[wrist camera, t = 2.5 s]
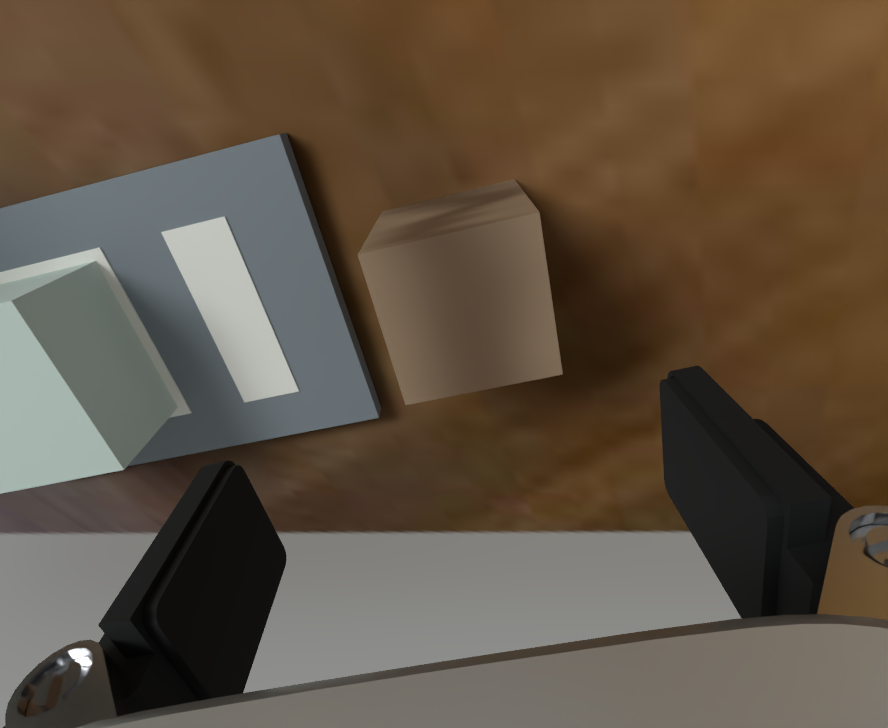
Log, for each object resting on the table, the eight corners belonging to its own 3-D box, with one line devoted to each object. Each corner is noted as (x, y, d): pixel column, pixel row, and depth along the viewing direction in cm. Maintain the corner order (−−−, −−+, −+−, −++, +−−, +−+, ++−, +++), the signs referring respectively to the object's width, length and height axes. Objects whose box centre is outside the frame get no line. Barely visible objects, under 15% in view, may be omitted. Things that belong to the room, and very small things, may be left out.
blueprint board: (286, 132, 21) (278, 134, 20) (381, 407, 28) (378, 418, 27) (-118, 239, 24) (-142, 246, 23) (55, 471, 30) (42, 483, 29)
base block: (95, 260, 23) (11, 300, 19) (178, 407, 27) (124, 469, 22) (-58, 298, 24) (-174, 345, 19) (42, 435, 27) (-36, 500, 23)
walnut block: (514, 178, 22) (539, 212, 16) (534, 304, 25) (562, 374, 19) (382, 210, 23) (357, 254, 17) (416, 329, 26) (405, 405, 19)
